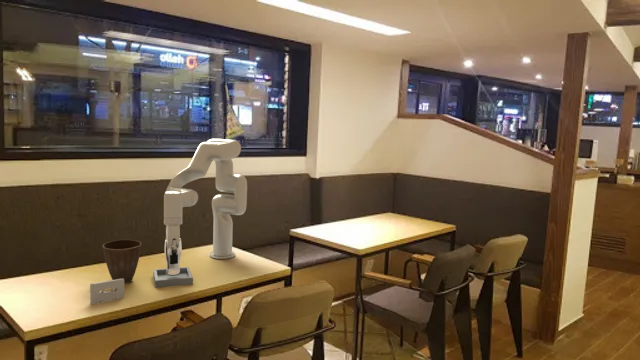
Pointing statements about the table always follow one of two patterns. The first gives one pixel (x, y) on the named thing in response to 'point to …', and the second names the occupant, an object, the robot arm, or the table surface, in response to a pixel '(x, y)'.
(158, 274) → the serving tray
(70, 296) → the table surface
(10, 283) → the table surface
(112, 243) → the plant pot
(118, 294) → the cassette
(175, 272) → the beer glass
